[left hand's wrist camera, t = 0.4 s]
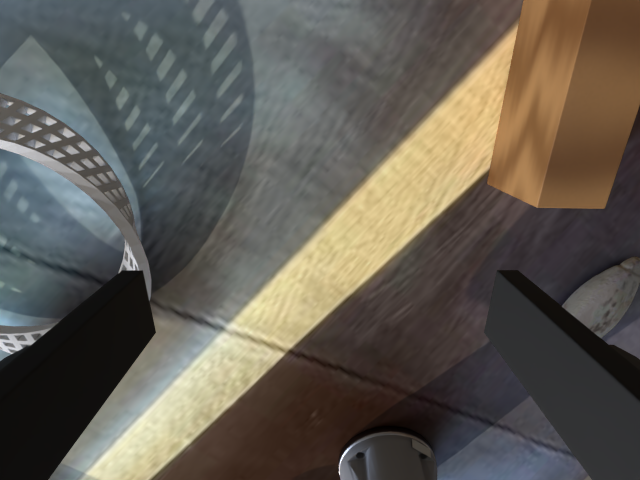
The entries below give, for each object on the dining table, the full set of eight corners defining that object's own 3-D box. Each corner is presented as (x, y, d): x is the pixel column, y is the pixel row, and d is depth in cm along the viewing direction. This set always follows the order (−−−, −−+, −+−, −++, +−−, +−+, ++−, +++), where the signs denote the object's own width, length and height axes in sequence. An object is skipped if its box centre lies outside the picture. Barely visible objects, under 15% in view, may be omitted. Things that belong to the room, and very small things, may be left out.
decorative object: (151, 362, 47) (128, 397, 42) (-85, 314, 45) (-144, 345, 39) (175, 143, 37) (149, 150, 31) (-136, 60, 34) (-229, 51, 28)
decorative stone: (647, 262, 42) (674, 275, 39) (562, 354, 47) (580, 372, 44) (609, 242, 41) (634, 254, 38) (527, 338, 46) (542, 355, 43)
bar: (539, 184, 38) (605, 208, 29) (486, 183, 38) (536, 207, 29) (625, -149, 28) (766, -266, 19) (553, -151, 28) (661, -269, 19)
